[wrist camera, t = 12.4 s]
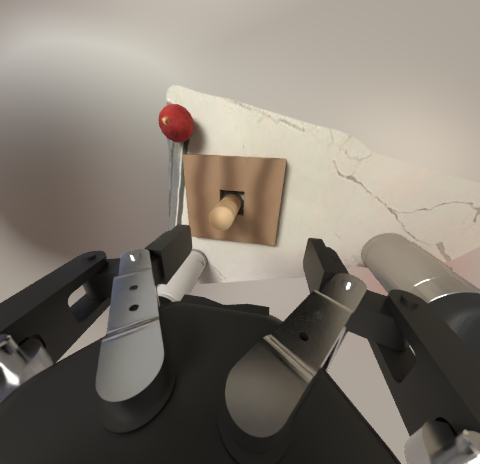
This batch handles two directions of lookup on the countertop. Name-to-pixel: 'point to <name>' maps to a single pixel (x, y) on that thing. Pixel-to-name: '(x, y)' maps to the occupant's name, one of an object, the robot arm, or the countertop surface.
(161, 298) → the travel mug
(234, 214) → the oak peg
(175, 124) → the red egg-shaped piece
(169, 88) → the countertop surface
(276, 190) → the walnut board
